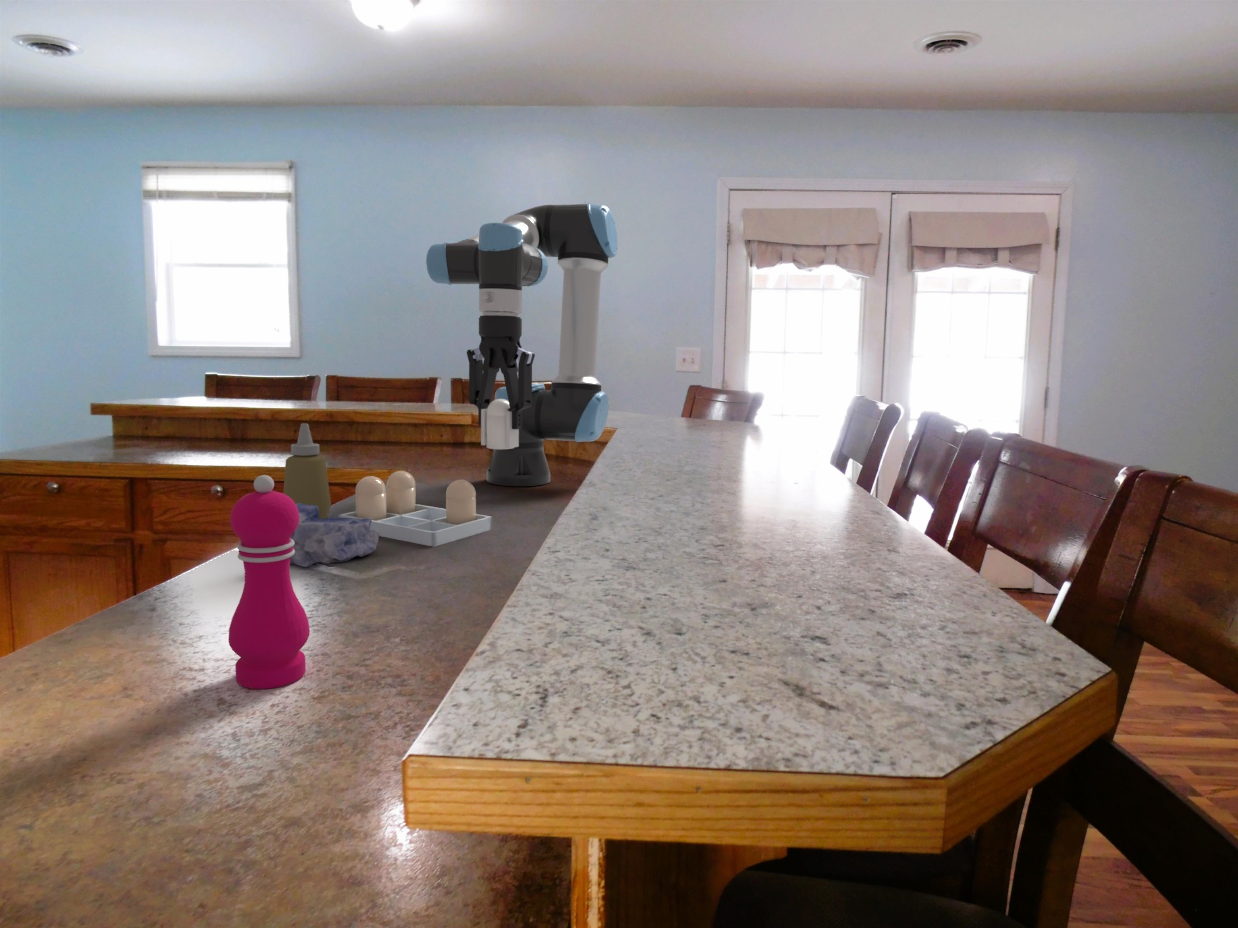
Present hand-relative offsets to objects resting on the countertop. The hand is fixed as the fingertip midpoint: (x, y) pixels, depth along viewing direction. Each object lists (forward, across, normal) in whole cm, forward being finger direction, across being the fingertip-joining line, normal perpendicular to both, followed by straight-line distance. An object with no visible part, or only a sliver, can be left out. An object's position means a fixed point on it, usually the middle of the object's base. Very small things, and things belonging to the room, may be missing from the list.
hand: (499, 445), depth 143 cm
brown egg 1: (+14, -14, -18) cm, 26 cm away
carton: (+14, -7, -14) cm, 21 cm away
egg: (0, 0, 0) cm, 0 cm away
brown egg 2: (+14, -14, -11) cm, 22 cm away
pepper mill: (+14, +23, -65) cm, 71 cm away
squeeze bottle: (+15, -26, -21) cm, 37 cm away
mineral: (+15, -5, -35) cm, 38 cm away
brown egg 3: (+14, 0, -11) cm, 17 cm away
